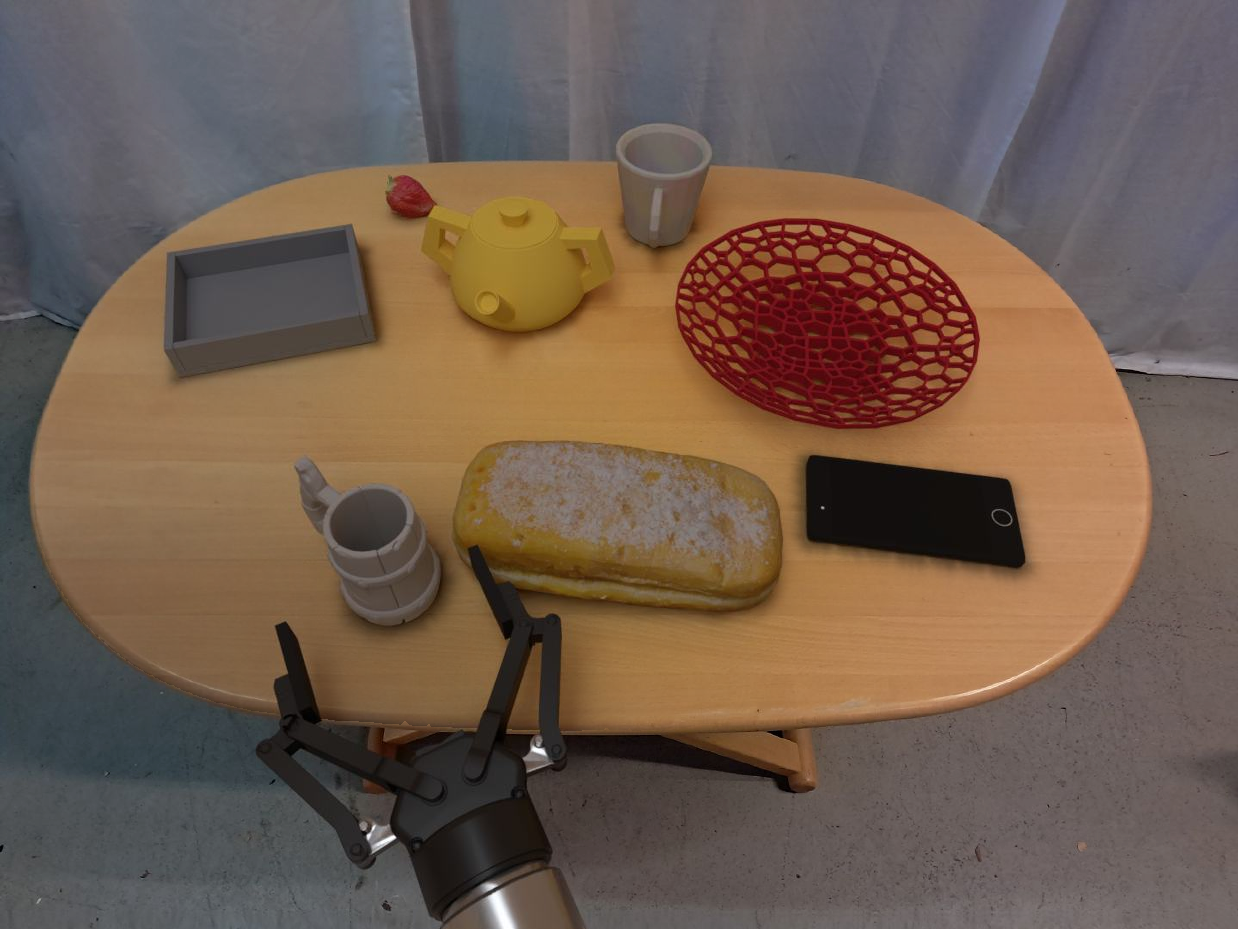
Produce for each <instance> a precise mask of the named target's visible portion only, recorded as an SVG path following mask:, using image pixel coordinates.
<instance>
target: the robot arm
mask: <svg viewBox="0 0 1238 929" xmlns="http://www.w3.org/2000/svg"><path fill="white" fill-rule="evenodd" d="M468 552H469V556H470V561H471V565H472V568H473V570H474V571H473V570H472V571H473V573H474V575H475V578H476V579H477V581H478V584H479V586H480V588H481V591H482V592H483V594H484V597H485V599H486V601H487V604H488V606H489V607H490V610H491V612H492V614H493V617H494V618H495V621H496V623H497V625H498V627H499V629H500V631H501V634H502V636H503V638H504V641H506V640H508V642H507V646H506V649H505V652H504V654H503V657H502V661H501V663H500V665H499V666H500V667H499V669H498V672H497V675H496V677H495V678H496V679H495V681H494V684H493V687H492V689H491V692H490V695H489V699H488V702H487V705H486V707H485V709H483V712H482V714H481V716H480V719H479V722H478V725H477V728H476V731H473V730H467V731H466V730H465V731H464V729H463V728H462V729H460V730H457V731H455V732H452V733H451V734H449V736H447V737H446V738H444V739H443V740H442V741H441V742H439V743H434V744H430V745H426V746H423V747H420V748H419V749H416V750H415V751H414V754H415V755H413V756H412V757H411V758H410V759H409V761H408V763H407V764H405V763H403V762H400V761H398V760H396V759H394V758H392V757H390V756H383V755H381V754H379V753H377V752H375V751H373V750H370V749H368V748H366V747H364V746H362V745H360V744H357V743H356V742H354V741H351V740H350V739H347V738H344V737H342V736H340V735H338V734H336V733H334V732H332V731H330V730H327V729H325V728H323V727H321V726H319V725H318V724H319V723H321V722H323V719H322V717H321V716H322V715H321V712H320V709H319V706H318V702H317V699H316V696H315V692H314V689H313V686H312V683H311V682H312V681H311V679H310V675H309V672H308V669H307V665H306V662H305V659H304V658H305V657H304V655H303V651H302V647H301V644H300V642H299V639H298V638H299V637H298V636H297V635H296V634H295V632H294V630H293V629H292V628H291V626H290V625H289V623H288V622H287V620H285V621H282V622H280V623H277V624H275V625H274V630H275V632H276V636H277V639H278V643H279V646H280V650H281V655H282V657H283V661H284V664H285V668H286V671H287V672H286V673H285V674H284V675H281V676H279V677H277V678H276V677H275V678H274V681H273V686H272V688H273V691H274V695H275V699H276V701H277V707H278V710H279V714H280V717H281V718H280V719H279V722H278V726H279V730H278V731H277V732H276V733H275V734H273V735H272V736H271V737H269V738H265V739H262V740H261V741H259V742H258V744H257V745H256V747H255V755H256V757H257V758H259V760H260V761H261V762H262V763H264V764H265V765H266V766H267V768H269V769H270V770H271V771H272V772H273V773H274V774H275V775H276V776H278V778H279V779H280V780H282V781H283V782H284V783H285V784H286V785H287V786H288V787H289V788H290V789H291V790H292V791H293V792H295V794H297V795H298V796H299V797H300V798H301V799H302V800H303V801H304V802H305V803H306V804H307V805H308V806H309V807H310V808H312V809H313V810H314V811H315V812H316V813H317V814H318V815H319V816H320V817H321V818H322V819H323V820H324V821H326V822H327V823H328V824H329V826H330V827H332V828H333V829H334V830H335V832H336V835H337V836H338V837H337V838H338V839H339V841H340V844H341V845H342V848H343V851H344V853H345V856H346V857H347V858H348V860H349V861H350V862H352V863H353V864H354V865H355V866H356V867H357V868H358V869H360V870H368V869H371V868H372V867H373V866H374V865H375V863H376V861H377V857H378V856H379V855H381V854H383V853H384V852H386V851H387V850H390V849H391V848H392V847H394V846H396V844H398V843H401V844H402V845H403V846H404V847H405V849H406V850H407V852H408V856H409V858H410V861H411V864H412V867H413V872H414V873H415V877H416V880H417V883H418V885H419V888H420V892H421V895H422V898H423V901H424V904H425V907H426V910H427V913H428V916H429V917H430V918H431V919H434V920H435V921H437V922H441V923H442V924H441V926H440V927H439V929H587V927H586V924H585V922H584V920H583V918H582V915H581V912H580V910H579V908H578V906H577V904H576V901H575V899H574V896H573V894H572V892H571V890H570V887H569V885H568V882H567V880H566V878H565V876H564V873H563V871H562V870H561V868H559V867H557V866H549V864H550V863H551V861H552V855H553V852H554V850H553V847H552V845H551V843H550V840H549V838H548V836H547V833H546V831H545V829H544V825H543V824H542V822H541V819H540V816H539V815H538V811H537V810H536V807H535V805H534V803H533V800H532V797H531V796H530V793H529V790H528V778H529V777H532V776H535V775H537V774H541V773H543V772H546V771H549V770H551V771H553V772H557V773H559V772H562V771H563V770H565V769H566V768H567V765H568V755H567V746H566V743H565V740H564V737H563V734H562V731H561V728H560V703H561V678H562V677H561V676H562V651H563V650H562V648H563V632H562V631H563V630H562V620H561V617H560V616H559V615H558V614H557V613H553V612H552V613H548V614H547V615H545V616H544V617H533V616H531V615H530V614H529V613H528V611H527V610H526V607H525V605H524V603H523V601H522V599H521V597H520V595H519V592H518V591H517V588H515V587H514V585H513V584H512V583H511V582H509V581H507V582H504V583H502V584H497V583H495V581H494V578H493V576H492V574H491V572H490V570H489V568H488V566H487V564H486V561H485V559H484V557H483V555H482V553H481V551H480V549H479V547H478V544H477V545H475V546H472V547H470V548H468ZM536 644H541V657H540V658H541V659H540V680H539V681H540V682H539V698H538V699H539V700H538V727H539V733H537V734H534V735H533V736H532V738H530V741H529V751H528V753H527V754H526V755H524V756H523V757H522V756H521V755H520V754H518V753H517V752H514V750H513V751H512V750H511V749H509V748H507V747H506V746H503V745H504V742H505V739H506V735H507V730H508V727H509V726H508V725H509V722H510V720H511V715H512V713H513V710H514V706H515V703H516V700H517V697H518V695H519V691H520V687H521V684H522V682H523V678H524V676H525V672H526V670H527V665H528V663H529V660H530V657H531V653H532V650H533V647H535V646H536ZM299 750H302V751H305V752H307V753H309V754H311V755H313V756H316V757H317V758H320V759H322V760H324V761H326V762H328V763H330V764H332V765H334V766H336V767H338V768H341V769H343V770H345V771H346V772H349V773H351V774H353V775H355V776H357V777H359V778H362V779H364V780H366V781H368V782H370V783H372V784H374V785H377V786H379V787H381V788H382V789H383V790H385V791H387V792H389V793H390V794H392V795H395V796H396V798H395V800H394V804H393V808H392V811H391V814H390V817H389V823H387V824H384V825H383V824H378V823H377V822H376V820H374V819H373V818H371V817H364V818H362V819H360V820H359V819H358V818H357V817H356V816H355V815H354V814H353V812H352V811H351V810H350V809H349V808H348V807H347V806H345V804H344V803H342V801H341V800H339V799H338V798H337V797H336V796H335V795H333V793H331V791H329V790H328V789H327V788H326V787H325V786H324V785H323V784H321V782H320V781H319V780H317V779H316V778H315V777H314V776H313V775H312V774H311V773H309V771H307V770H306V768H304V767H303V765H301V764H300V763H299V762H298V761H296V759H295V758H293V757H292V756H293V755H295V754H296V753H297V752H298V751H299Z"/></svg>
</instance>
